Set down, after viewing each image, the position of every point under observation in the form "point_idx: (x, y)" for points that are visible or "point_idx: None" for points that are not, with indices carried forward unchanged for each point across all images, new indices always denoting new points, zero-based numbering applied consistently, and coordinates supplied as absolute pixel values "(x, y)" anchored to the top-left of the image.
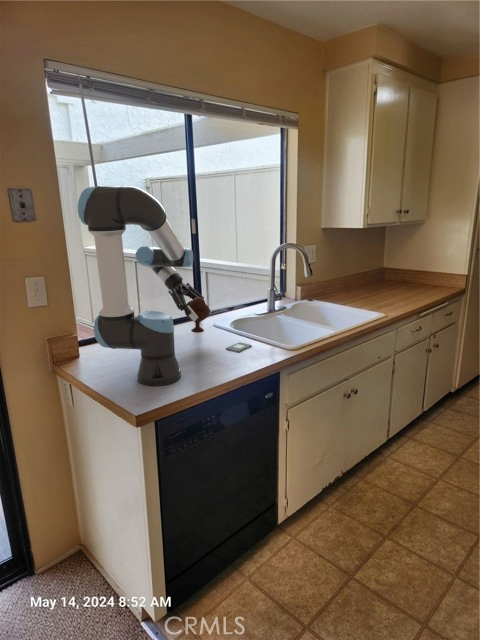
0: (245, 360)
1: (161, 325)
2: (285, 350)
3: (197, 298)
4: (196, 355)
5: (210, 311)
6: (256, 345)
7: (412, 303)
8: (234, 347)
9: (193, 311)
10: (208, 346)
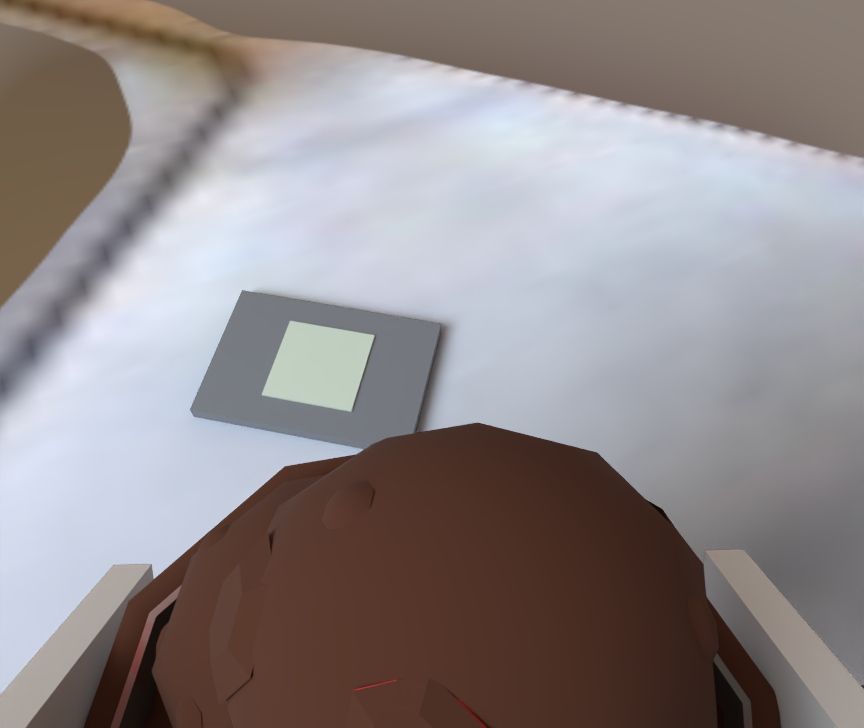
0: (577, 227)
1: None
2: (258, 95)
3: (592, 553)
4: None
5: (148, 576)
6: (205, 277)
7: None
8: (361, 388)
9: (784, 644)
10: None
